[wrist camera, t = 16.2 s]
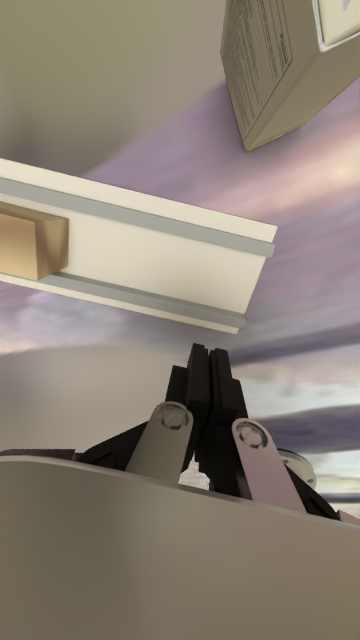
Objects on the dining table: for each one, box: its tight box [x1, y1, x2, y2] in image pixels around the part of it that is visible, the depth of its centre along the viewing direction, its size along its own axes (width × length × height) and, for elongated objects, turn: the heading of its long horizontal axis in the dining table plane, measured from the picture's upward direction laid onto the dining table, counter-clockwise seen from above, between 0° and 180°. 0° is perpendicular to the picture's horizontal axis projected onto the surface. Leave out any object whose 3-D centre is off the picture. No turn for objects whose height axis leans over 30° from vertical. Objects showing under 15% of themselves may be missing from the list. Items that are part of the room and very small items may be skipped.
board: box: [0, 158, 278, 334], centre depth 18 cm, size 10×30×7 cm, turn 78°
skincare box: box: [220, 0, 360, 152], centre depth 10 cm, size 6×4×12 cm
